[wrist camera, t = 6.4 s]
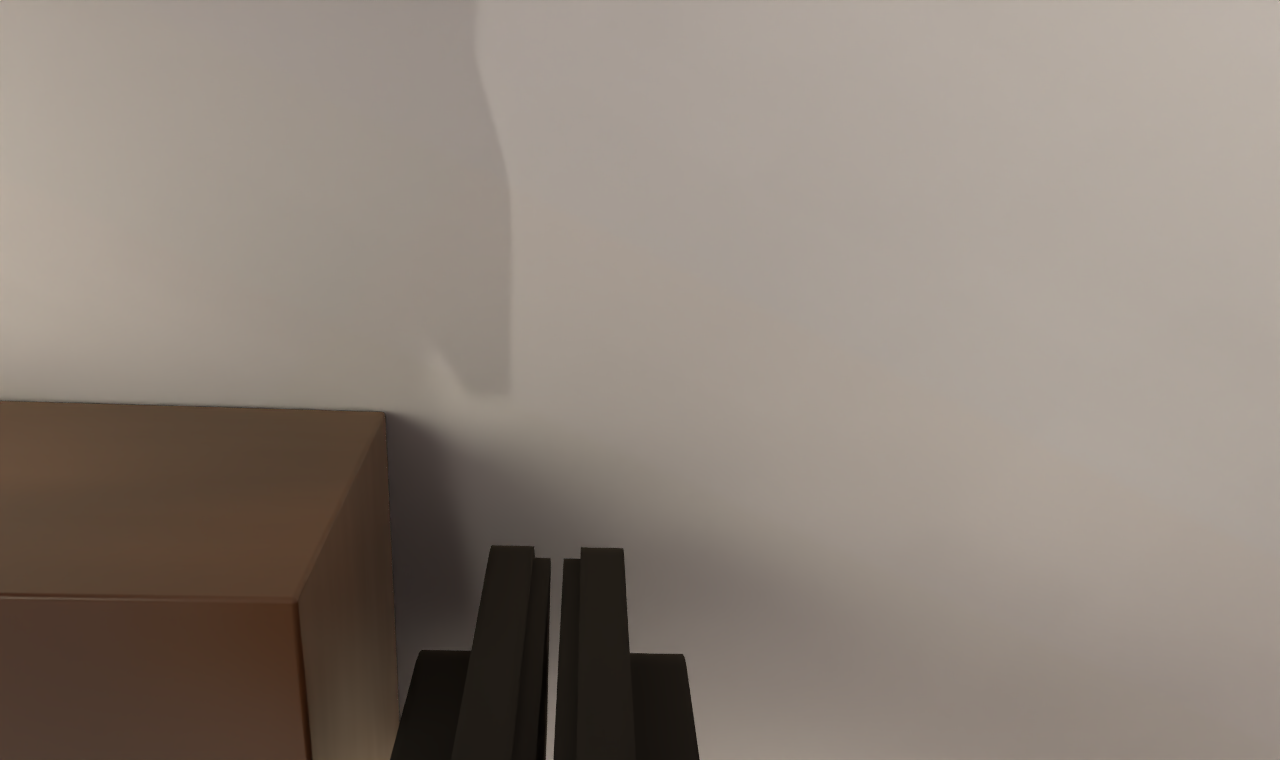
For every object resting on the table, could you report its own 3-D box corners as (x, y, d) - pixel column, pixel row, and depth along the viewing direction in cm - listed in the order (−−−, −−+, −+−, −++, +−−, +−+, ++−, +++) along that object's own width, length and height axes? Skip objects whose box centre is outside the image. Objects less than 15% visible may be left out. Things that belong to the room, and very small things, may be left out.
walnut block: (386, 410, 12) (296, 600, 8) (402, 756, 14) (335, 1033, 10) (-81, 397, 11) (-399, 589, 8) (6, 754, 13) (-211, 1042, 10)
